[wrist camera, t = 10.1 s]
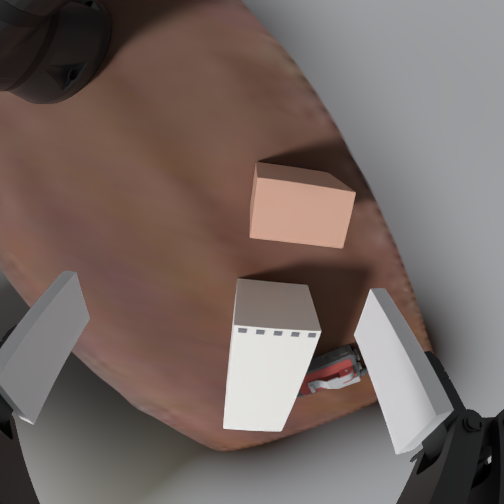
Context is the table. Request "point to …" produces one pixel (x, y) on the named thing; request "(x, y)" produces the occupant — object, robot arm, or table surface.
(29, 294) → the table surface
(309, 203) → the peach rectangular block
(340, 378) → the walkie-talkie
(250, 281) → the block
